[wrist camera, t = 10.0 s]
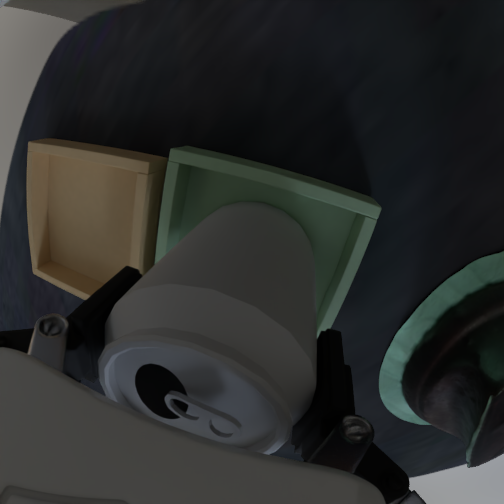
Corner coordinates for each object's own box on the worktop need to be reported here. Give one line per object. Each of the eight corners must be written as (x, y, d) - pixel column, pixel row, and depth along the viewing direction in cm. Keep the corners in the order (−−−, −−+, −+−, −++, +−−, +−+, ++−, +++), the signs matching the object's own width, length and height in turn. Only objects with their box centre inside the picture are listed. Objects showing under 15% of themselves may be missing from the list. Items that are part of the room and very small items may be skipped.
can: (203, 185, 17) (56, 280, 6) (328, 214, 16) (362, 370, 6) (190, 292, 20) (100, 430, 9) (296, 319, 20) (276, 487, 9)
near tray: (186, 145, 17) (170, 148, 15) (372, 197, 16) (382, 207, 14) (164, 300, 21) (150, 317, 19) (311, 345, 21) (310, 368, 19)
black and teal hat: (326, 355, 20) (534, 186, 13) (395, 379, 31) (520, 283, 24) (389, 542, 9) (646, 346, 2) (435, 480, 20) (575, 378, 13)
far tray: (49, 137, 18) (28, 141, 16) (168, 157, 17) (149, 162, 15) (49, 262, 23) (33, 273, 20) (151, 305, 22) (137, 323, 20)
